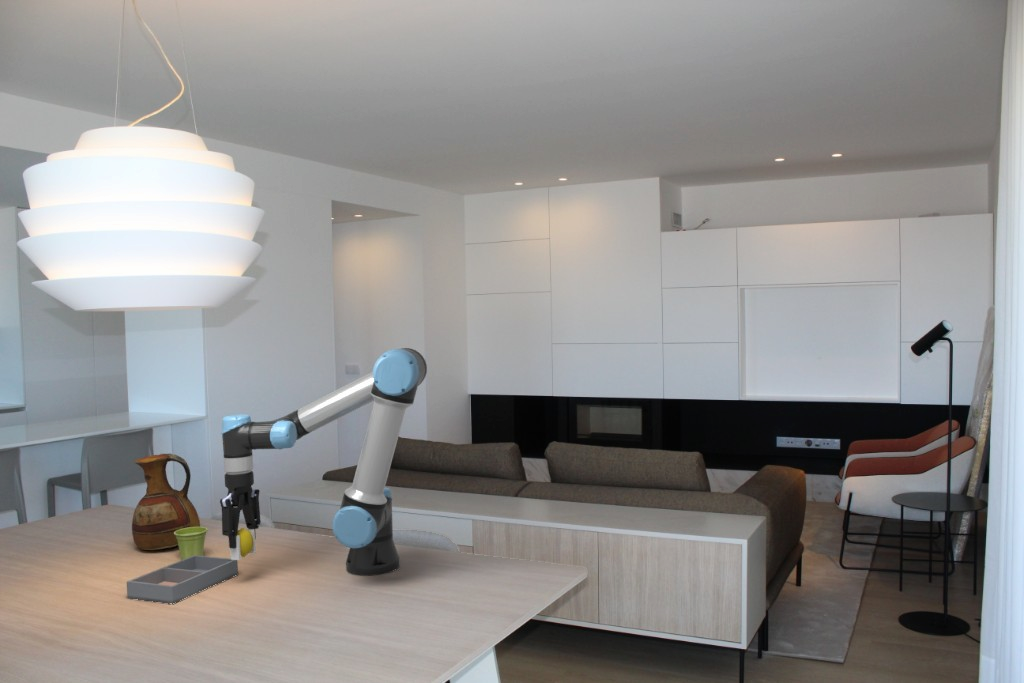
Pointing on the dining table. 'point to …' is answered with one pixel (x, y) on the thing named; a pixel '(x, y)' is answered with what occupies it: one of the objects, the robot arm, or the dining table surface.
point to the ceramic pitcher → (162, 506)
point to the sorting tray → (181, 579)
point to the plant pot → (191, 541)
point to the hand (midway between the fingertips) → (243, 555)
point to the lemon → (245, 541)
